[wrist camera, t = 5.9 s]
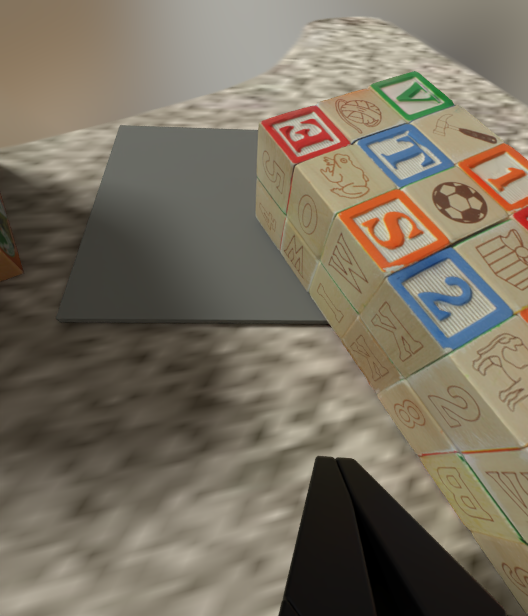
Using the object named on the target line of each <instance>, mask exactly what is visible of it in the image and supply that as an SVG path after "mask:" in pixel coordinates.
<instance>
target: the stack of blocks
mask: <svg viewBox="0 0 528 616" xmlns="http://www.w3.org/2000/svg"><path fill="white" fill-rule="evenodd" d="M256 218H257V219H258V221H259V222H260V224H261V225H262V227H263V228H264V230H265V231H266V233H267V234H268V236H269V237H270V239H271V240H272V241H273V243H274V244H275V246H276V247H277V249H278V250H279V251H280V252H281V254H282V255H283V257H284V258H285V260H286V261H287V263H288V264H289V266H290V267H291V269H292V270H293V272H294V273H295V275H296V276H297V277H298V279H299V280H300V282H301V283H302V285H303V286H304V288H305V289H306V291H307V292H309V293H310V296H311V298H312V299H313V300H314V302H315V303H316V305H317V306H318V308H319V309H320V311H321V312H322V314H323V315H324V317H325V318H326V320H327V321H328V323H329V324H330V325H331V327H332V328H333V330H334V331H335V333H336V334H337V335H338V337H339V338H340V339H341V341H342V343H343V345H344V346H345V348H346V349H347V351H348V352H349V353H350V355H351V356H352V358H353V359H354V361H355V363H356V364H357V365H358V367H359V368H360V369H361V371H362V372H363V374H364V375H365V377H366V378H367V380H368V382H369V384H370V385H371V387H372V388H373V389H374V390H375V392H376V393H377V396H378V398H379V400H380V401H381V403H382V404H383V406H384V407H385V409H386V410H387V412H388V413H389V415H390V416H391V418H392V419H393V421H394V422H395V424H396V425H397V427H398V428H399V430H400V431H401V433H402V434H403V435H404V437H405V438H406V439H407V441H408V442H409V444H410V445H411V447H412V448H413V450H414V451H415V452H416V454H417V455H418V456H419V457H420V459H421V461H422V463H423V465H424V466H425V468H426V469H427V471H428V472H429V474H430V475H431V476H432V478H433V479H434V481H435V482H436V484H437V485H438V487H439V488H440V490H441V491H442V493H443V494H444V496H445V497H446V498H447V500H448V501H449V503H450V505H451V506H452V508H453V509H454V510H455V512H456V513H457V515H458V516H459V518H460V519H461V521H462V522H463V524H464V525H465V526H466V527H467V528H468V529H469V530H471V532H472V534H473V536H474V538H475V540H476V541H477V543H478V544H479V545H480V547H481V548H482V550H483V551H484V553H485V554H486V556H487V557H488V559H489V560H490V562H491V563H492V564H493V566H494V567H495V569H496V570H497V572H498V573H499V575H500V576H501V577H502V579H503V580H504V582H505V583H506V585H507V586H508V588H509V589H510V591H511V592H512V594H513V595H514V597H515V598H516V600H517V601H518V602H519V604H520V605H521V607H522V608H523V610H524V611H525V612H526V614H527V615H528V160H527V159H526V158H524V157H523V156H522V155H521V154H520V153H518V152H517V151H516V150H515V149H514V148H512V147H511V146H509V145H507V144H505V143H504V142H503V141H502V140H501V139H500V138H499V137H498V136H497V135H495V134H494V133H493V132H492V131H490V130H489V129H488V128H487V127H486V126H484V125H483V124H482V123H481V122H480V121H478V120H477V119H476V118H475V117H473V116H472V115H471V114H470V113H468V112H467V111H466V110H465V109H464V108H462V107H461V106H459V105H454V104H453V102H452V100H450V99H449V98H448V97H447V96H446V95H445V94H443V93H442V92H441V91H440V90H438V89H437V88H436V87H435V86H434V85H432V84H431V83H430V82H429V81H428V80H426V79H425V78H424V77H423V76H422V75H421V74H420V73H418V72H416V71H414V72H410V73H407V74H403V75H400V76H396V77H393V78H389V79H387V80H383V81H380V82H377V83H373V84H371V85H370V86H369V87H368V89H362V90H358V91H355V92H351V93H348V94H345V95H342V96H338V97H335V98H331V99H328V100H324V101H321V102H318V103H317V104H316V105H315V106H310V107H307V108H302V109H299V110H295V111H291V112H288V113H285V114H282V115H278V116H275V117H272V118H269V119H266V120H263V121H260V123H259V128H258V150H257V182H256Z"/></svg>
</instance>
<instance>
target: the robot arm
mask: <svg viewBox="0 0 528 616" xmlns="http://www.w3.org/2000/svg"><path fill="white" fill-rule="evenodd" d="M278 616H511V615H507V613H506V610H505V609H504V608H503V607H502V606H501V605H500V604H499V603H498V602H497V601H496V600H495V599H494V598H493V597H492V596H491V595H490V594H489V593H488V592H487V591H486V590H485V589H484V588H483V587H482V586H481V585H480V584H479V583H478V582H477V581H476V580H475V579H474V578H473V577H472V576H471V575H470V574H469V573H468V572H467V571H466V570H465V569H464V568H463V567H462V566H461V565H460V564H459V563H458V562H457V561H456V560H455V559H454V558H453V557H452V556H451V555H450V554H449V553H448V552H447V551H446V550H445V549H444V548H443V547H442V546H441V545H440V544H439V543H438V542H437V541H436V540H435V539H434V538H433V537H432V536H431V535H430V534H429V533H428V532H427V531H426V530H425V529H424V528H423V527H422V526H421V525H420V524H419V523H418V522H417V521H416V520H415V519H414V518H413V517H412V516H411V515H410V514H409V513H408V512H407V511H406V510H405V509H404V508H403V507H402V506H401V505H400V504H399V503H398V502H397V501H396V500H395V499H394V498H393V497H392V496H391V495H390V494H389V493H388V492H387V491H386V490H385V489H384V488H383V487H382V486H381V485H380V484H379V483H378V482H377V481H376V480H375V479H374V478H373V477H372V476H371V475H370V474H369V473H368V472H367V471H366V470H365V469H364V468H363V467H362V466H361V465H360V464H359V463H358V462H357V461H355V460H354V459H352V458H340V457H337V458H336V459H334V458H333V457H327V456H317V457H316V459H315V463H314V467H313V472H312V476H311V480H310V484H309V489H308V493H307V497H306V501H305V506H304V510H303V514H302V519H301V523H300V527H299V531H298V536H297V540H296V544H295V548H294V553H293V557H292V561H291V565H290V570H289V574H288V578H287V582H286V587H285V591H284V595H283V601H282V603H281V607H280V611H279V615H278Z"/></svg>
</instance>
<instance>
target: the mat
mask: <svg viewBox="0 0 528 616" xmlns="http://www.w3.org/2000/svg"><path fill="white" fill-rule="evenodd" d="M257 150H258V130H240V129H212V128H183V127H154V126H126V125H120V127H119V130H118V133H117V136H116V139H115V142H114V145H113V148H112V151H111V154H110V157H109V160H108V163H107V166H106V169H105V172H104V175H103V178H102V181H101V184H100V187H99V190H98V193H97V196H96V199H95V202H94V205H93V208H92V211H91V214H90V217H89V220H88V223H87V226H86V229H85V232H84V235H83V238H82V241H81V244H80V247H79V250H78V253H77V256H76V259H75V262H74V265H73V268H72V271H71V274H70V277H69V280H68V283H67V286H66V289H65V292H64V295H63V298H62V301H61V304H60V307H59V310H58V313H57V316H56V319H57V320H58V321H59V322H124V323H272V324H329V323H328V321H327V320H326V318H325V317H324V315H323V314H322V312H321V311H320V309H319V308H318V306H317V305H316V303H315V302H314V300H313V299H312V298H311V296H310V293H309V292H307V291H306V289H305V288H304V286H303V285H302V283H301V282H300V280H299V279H298V277H297V276H296V275H295V273H294V272H293V270H292V269H291V267H290V266H289V264H288V263H287V261H286V260H285V258H284V257H283V255H282V254H281V252H280V251H279V250H278V249H277V247H276V246H275V244H274V243H273V241H272V240H271V239H270V237H269V236H268V234H267V233H266V231H265V230H264V228H263V227H262V225H261V224H260V222H259V221H258V219H257V218H256V182H257Z"/></svg>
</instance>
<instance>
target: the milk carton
mask: <svg viewBox="0 0 528 616" xmlns="http://www.w3.org/2000/svg"><path fill="white" fill-rule="evenodd" d="M22 273H24V271H23V268H22V265H21V261H20V258H19V254H18V251H17V248H16V244H15V241H14V237H13V234H12V231H11V227H10V224H9V220H8V217H7V214H6V210H5V207H4V204H3V200H2V197H1V193H0V282H1V281H4V280H6V279H9V278H12V277H14V276H17V275H20V274H22Z"/></svg>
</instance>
